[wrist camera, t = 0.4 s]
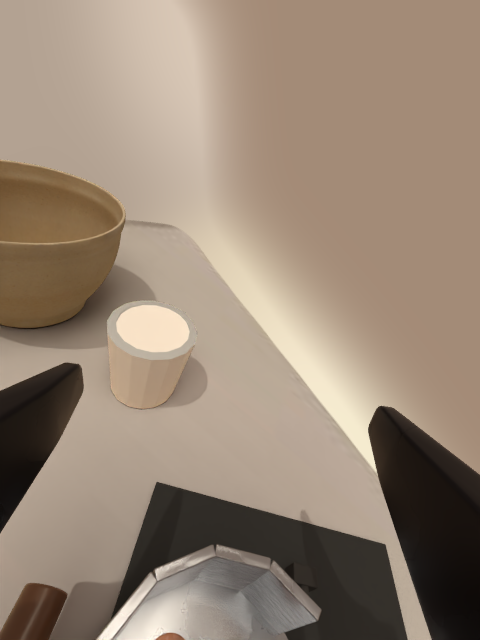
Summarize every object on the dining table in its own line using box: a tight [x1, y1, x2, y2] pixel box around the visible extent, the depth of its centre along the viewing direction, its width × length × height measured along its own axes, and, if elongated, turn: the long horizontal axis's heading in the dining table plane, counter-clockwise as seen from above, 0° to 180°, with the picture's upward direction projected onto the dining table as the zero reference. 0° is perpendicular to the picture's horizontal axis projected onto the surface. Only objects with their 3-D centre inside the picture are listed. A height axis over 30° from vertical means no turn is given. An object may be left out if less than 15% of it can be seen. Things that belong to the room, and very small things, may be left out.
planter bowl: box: [0, 160, 126, 328], centre depth 28 cm, size 16×16×11 cm
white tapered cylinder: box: [107, 300, 197, 409], centre depth 25 cm, size 7×7×7 cm
